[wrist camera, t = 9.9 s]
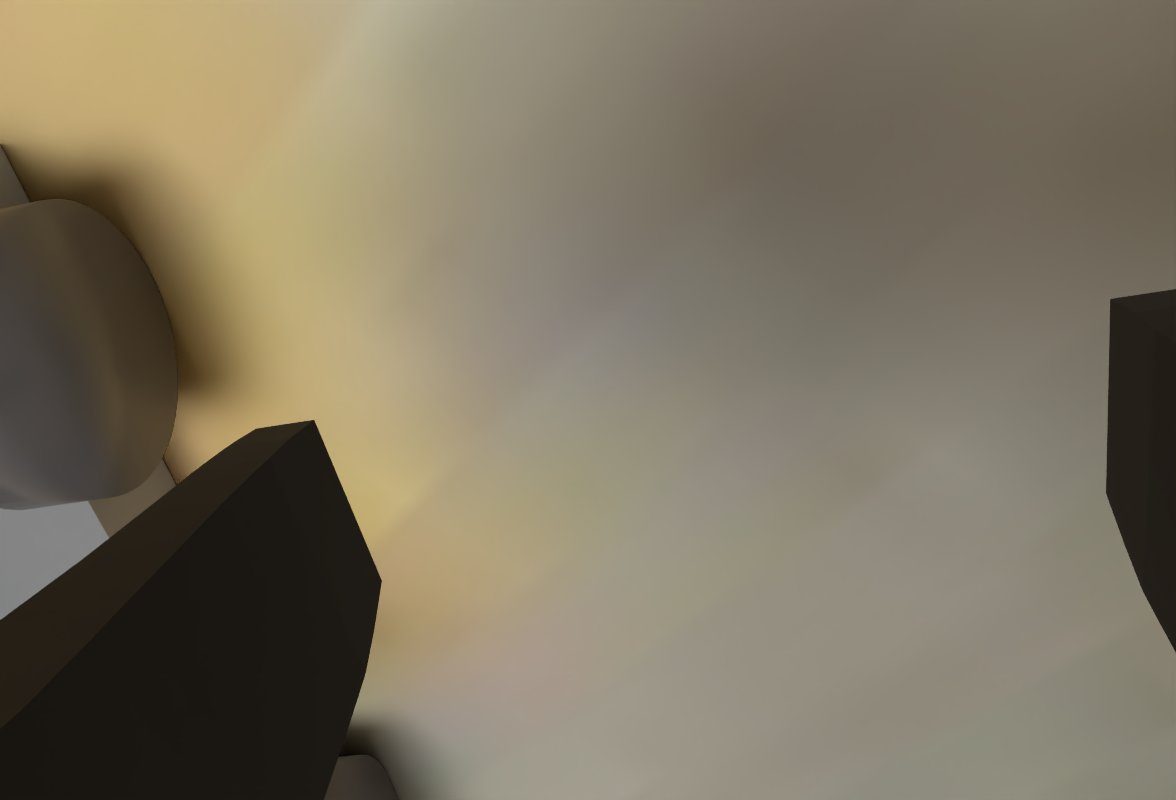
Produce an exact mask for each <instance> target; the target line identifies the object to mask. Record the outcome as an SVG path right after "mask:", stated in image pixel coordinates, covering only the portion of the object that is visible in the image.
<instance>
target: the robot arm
mask: <svg viewBox="0 0 1176 800" xmlns="http://www.w3.org/2000/svg"><path fill="white" fill-rule="evenodd" d="M1106 494H1107V497H1108V500H1109V503H1110V505H1111V508H1112V511H1113V514H1114V516H1115V519H1116V522H1117V525H1118V527H1119V530H1120V533H1121V536H1122V538H1123V541H1124V544H1125V547H1126V549H1127V552H1128V554H1129V557H1130V559H1131V562H1132V565H1133V567H1134V570H1135V572H1136V575H1137V577H1138V580H1139V582H1140V585H1141V588H1142V590H1143V592H1144V594H1145V596H1146V598H1147V600H1148V602H1149V604H1150V605H1151V607H1152V609H1153V611H1154V613H1155V615H1156V617H1157V619H1158V620H1159V622H1160V624H1161V626H1162V628H1163V630H1164V631H1165V633H1166V635H1167V637H1168V639H1169V641H1170V642H1171V644H1172V646H1173V648H1174V650H1175V652H1176V289H1174V290H1168V291H1161V292H1154V293H1148V294H1141V295H1135V296H1128V297H1121V298H1115V299H1111V300H1110V345H1109V389H1108V433H1107V478H1106ZM381 582H382V580H381V578H380V576H379V573H378V571H377V568H376V566H375V564H374V561H373V559H372V557H371V554H370V552H369V549H368V547H367V545H366V542H365V540H364V538H363V535H362V533H361V530H360V528H359V526H358V523H357V521H356V519H355V516H354V514H353V511H352V509H351V507H350V504H349V502H348V499H347V497H346V495H345V492H344V490H343V488H342V485H341V483H340V480H339V478H338V476H337V473H336V471H335V469H334V466H333V464H332V461H331V459H330V457H329V454H328V452H327V450H326V447H325V445H324V442H323V440H322V438H321V435H320V433H319V430H318V428H317V426H316V423H315V421H314V420H311V421H304V422H298V423H291V424H284V425H278V426H271V427H265V428H258V429H255V430H253V431H252V432H250V433H248V434H247V435H245V436H243V437H242V438H240V439H238V440H237V441H235V442H234V443H232V444H231V445H229V446H228V447H227V448H225V449H224V450H222V451H221V452H220V453H218V454H217V455H215V456H214V457H213V458H211V459H210V460H209V461H207V462H206V463H205V464H203V465H202V466H201V467H199V468H198V469H197V470H195V471H194V472H193V473H192V474H190V475H189V476H188V477H186V478H185V479H184V480H182V481H181V482H180V483H179V484H177V485H176V486H175V487H174V488H172V489H171V490H170V491H168V492H167V493H166V494H165V495H163V496H162V497H161V498H160V499H158V500H157V501H156V502H154V503H153V504H152V505H151V506H149V507H148V508H147V509H146V510H144V511H143V512H142V513H140V514H139V515H138V516H137V517H135V518H134V519H133V520H132V521H130V522H129V523H128V524H127V525H125V526H124V527H123V528H121V529H120V530H119V531H118V532H116V533H115V534H114V535H113V536H111V537H110V538H109V539H107V540H106V541H105V542H104V543H102V544H101V545H100V546H99V547H97V548H96V549H95V550H93V551H92V552H91V553H90V554H88V555H87V556H86V557H84V558H83V559H82V560H81V561H79V562H78V563H77V564H75V565H74V566H72V567H71V568H70V569H68V570H67V571H66V572H64V573H63V574H62V575H60V576H59V577H58V578H56V579H55V580H54V581H52V582H51V583H49V584H48V585H47V586H45V587H44V588H43V589H41V590H40V591H39V592H37V593H36V594H35V595H33V596H32V597H31V598H29V599H28V600H26V601H25V602H24V603H22V604H21V605H20V606H18V607H17V608H16V609H14V610H13V611H12V612H10V613H9V614H8V615H6V616H5V617H4V618H2V619H1V620H0V800H324V798H325V795H326V792H327V789H328V786H329V783H330V781H331V778H332V775H333V772H334V769H335V766H336V763H337V760H338V757H339V754H340V751H341V748H342V745H343V742H344V739H345V736H346V733H347V730H348V727H349V723H350V720H351V717H352V714H353V711H354V708H355V705H356V702H357V699H358V696H359V693H360V689H361V686H362V683H363V680H364V676H365V673H366V668H367V663H368V658H369V653H370V648H371V643H372V638H373V633H374V627H375V621H376V614H377V608H378V602H379V595H380V589H381Z"/></svg>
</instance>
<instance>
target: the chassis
mask: <svg viewBox="0 0 1176 800" xmlns="http://www.w3.org/2000/svg"><path fill="white" fill-rule="evenodd" d="M177 400H178V372H177V360H176V352H175V345H174V340H173V335H172V330H171V327H170V323H169V319H168V316H167V312H166V310H165V307H164V304H163V301H162V298H161V296H160V293H159V291H158V289H157V286H156V284H155V282H154V280H153V278H152V276H151V274H150V272H149V270H148V268H147V266H146V265H145V263H144V262H143V260H142V258H141V257H140V255H139V254H138V252H137V251H136V249H135V248H134V247H133V245H132V244H131V243H130V241H129V240H128V239H127V238H126V237H125V236H124V235H123V233H122V232H121V231H120V230H119V229H118V228H117V227H116V226H115V225H114V224H112V223H111V222H110V221H109V220H108V219H107V218H105V217H104V216H103V215H101V214H100V213H98V212H97V211H95V210H94V209H92V208H90V207H87V206H85V205H83V204H81V203H78V202H75V201H71V200H66V199H47V200H41V201H36V202H31V203H30V201H29V199H28V198H27V196H26V194H25V192H24V190H23V188H22V186H21V184H20V182H19V180H18V178H17V176H16V174H15V172H14V170H13V168H12V167H11V165H10V163H9V161H8V159H7V157H6V155H5V153H4V151H3V149H2V147H1V145H0V620H1V619H2V618H4V617H5V616H6V615H8V614H9V613H10V612H12V611H13V610H14V609H16V608H17V607H18V606H20V605H21V604H22V603H24V602H25V601H26V600H28V599H29V598H31V597H32V596H33V595H35V594H36V593H37V592H39V591H40V590H41V589H43V588H44V587H45V586H47V585H48V584H49V583H51V582H52V581H54V580H55V579H56V578H58V577H59V576H60V575H62V574H63V573H64V572H66V571H67V570H68V569H70V568H71V567H72V566H74V565H75V564H77V563H78V562H79V561H81V560H82V559H83V558H84V557H86V556H87V555H88V554H90V553H91V552H92V551H93V550H95V549H96V548H97V547H99V546H100V545H101V544H102V543H104V542H105V541H106V540H107V539H109V538H110V537H111V536H113V535H114V534H115V533H116V532H118V531H119V530H120V529H121V528H123V527H124V526H125V525H127V524H128V523H129V522H130V521H132V520H133V519H134V518H135V517H137V516H138V515H139V514H140V513H142V512H143V511H144V510H146V509H147V508H148V507H149V506H151V505H152V504H153V503H154V502H156V501H157V500H158V499H160V498H161V497H162V496H163V495H165V494H166V493H167V492H168V491H170V490H171V489H172V488H174V487H175V486H176V484H175V482H174V480H173V478H172V476H171V475H170V473H169V471H168V469H167V467H166V465H165V463H164V461H163V459H162V458H163V455H164V453H165V451H166V449H167V446H168V444H169V441H170V437H171V434H172V431H173V426H174V421H175V417H176V409H177ZM324 800H397V797H396V794H395V791H394V788H393V786H392V783H391V781H390V779H389V777H388V775H387V773H386V771H385V770H384V768H383V767H382V765H381V764H380V763H379V762H378V761H377V760H376V759H374V758H373V757H371V756H368V755H353V756H341V757H338V760H337V763H336V766H335V769H334V772H333V775H332V778H331V781H330V783H329V786H328V789H327V792H326V795H325V798H324Z"/></svg>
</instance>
